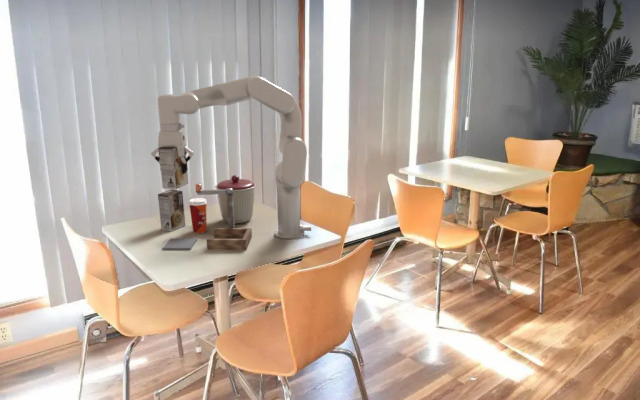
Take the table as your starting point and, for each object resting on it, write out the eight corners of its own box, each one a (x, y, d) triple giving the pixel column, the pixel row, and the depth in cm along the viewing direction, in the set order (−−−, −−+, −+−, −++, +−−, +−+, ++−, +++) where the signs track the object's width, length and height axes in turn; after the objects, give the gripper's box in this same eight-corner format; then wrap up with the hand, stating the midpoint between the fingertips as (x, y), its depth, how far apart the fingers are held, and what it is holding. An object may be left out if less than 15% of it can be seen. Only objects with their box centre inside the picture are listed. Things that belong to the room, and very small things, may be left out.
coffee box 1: (174, 182, 228) (170, 143, 223) (188, 183, 226) (185, 143, 221) (161, 188, 219) (158, 147, 215) (176, 189, 217) (173, 148, 213)
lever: (233, 192, 236) (233, 182, 234) (233, 194, 233) (232, 184, 232) (196, 194, 234) (195, 183, 233) (195, 195, 231) (195, 185, 230)
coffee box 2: (174, 223, 256) (171, 188, 252) (185, 225, 253) (183, 190, 249) (160, 229, 248) (157, 193, 244) (171, 231, 245) (168, 195, 241)
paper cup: (204, 234, 241) (202, 202, 237) (187, 233, 242) (185, 202, 239) (211, 228, 248) (209, 197, 244) (195, 227, 250) (193, 197, 246)
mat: (197, 240, 234) (196, 238, 234) (190, 249, 224) (190, 247, 223) (170, 240, 235) (170, 238, 234) (162, 249, 224) (162, 247, 224)
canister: (265, 219, 260) (263, 174, 254) (235, 229, 247) (232, 182, 241) (239, 212, 272) (237, 168, 266) (209, 221, 259) (206, 176, 253)
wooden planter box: (253, 234, 241) (251, 193, 236) (246, 249, 223) (244, 205, 218) (216, 234, 241) (213, 193, 236) (207, 249, 224) (204, 205, 219)
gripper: (195, 126, 219) (198, 170, 224) (150, 126, 220) (155, 171, 225) (190, 129, 212) (194, 175, 217) (144, 129, 213) (149, 175, 218)
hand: (174, 172), depth 221 cm, fingers closed on coffee box 1, 7 cm apart
